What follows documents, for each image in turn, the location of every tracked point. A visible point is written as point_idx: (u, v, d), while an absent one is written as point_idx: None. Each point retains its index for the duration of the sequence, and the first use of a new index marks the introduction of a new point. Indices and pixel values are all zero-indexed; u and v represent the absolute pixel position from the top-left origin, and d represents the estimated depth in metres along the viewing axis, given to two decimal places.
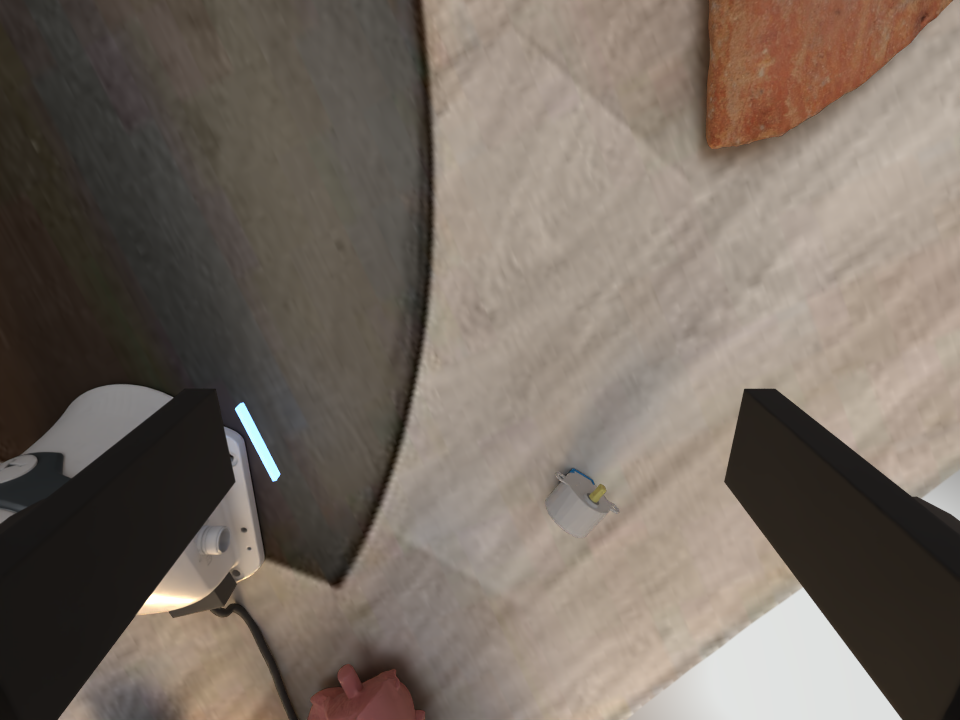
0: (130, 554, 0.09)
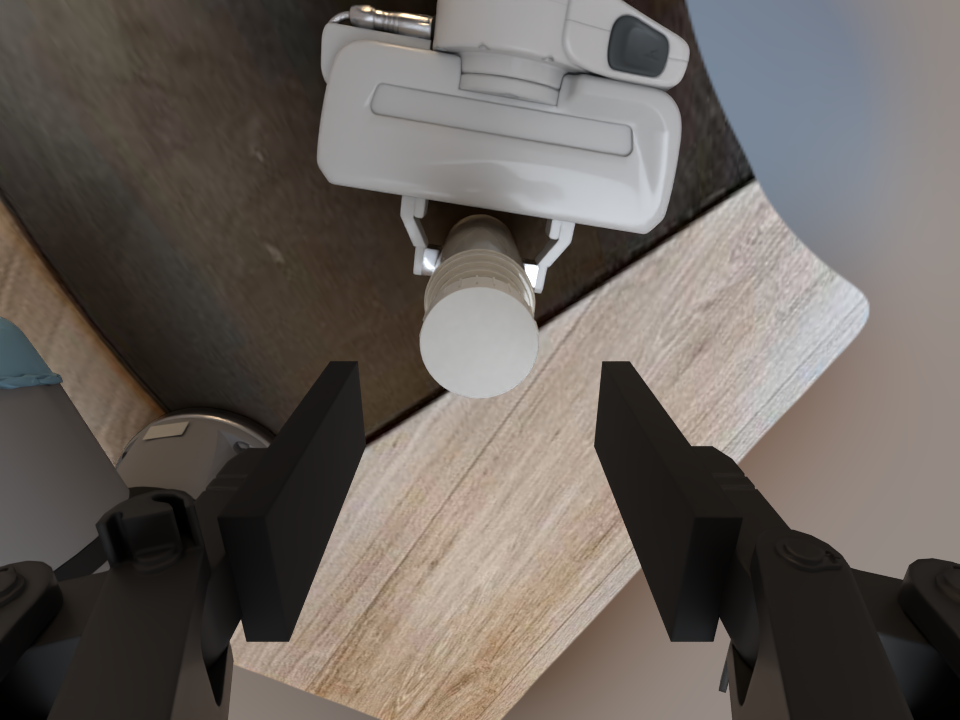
0: (323, 493, 0.11)
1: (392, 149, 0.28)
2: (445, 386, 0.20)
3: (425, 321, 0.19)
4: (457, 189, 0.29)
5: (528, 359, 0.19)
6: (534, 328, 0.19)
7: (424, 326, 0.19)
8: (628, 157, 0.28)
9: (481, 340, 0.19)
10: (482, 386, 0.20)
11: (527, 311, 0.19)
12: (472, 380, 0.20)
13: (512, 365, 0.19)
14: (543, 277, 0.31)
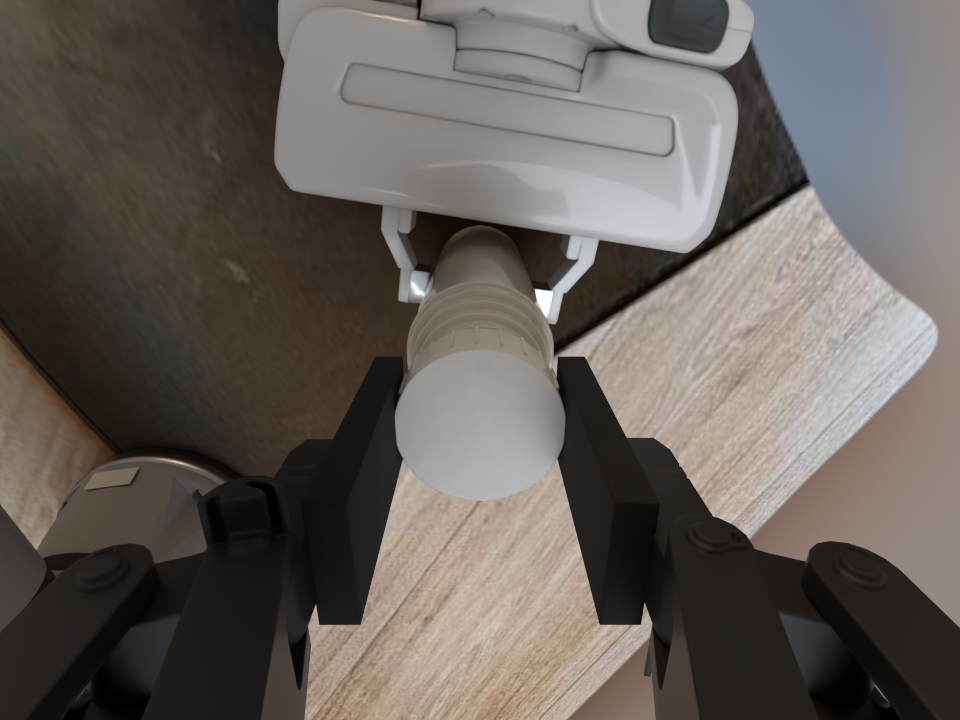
0: (382, 484, 0.11)
1: (369, 148, 0.22)
2: (431, 485, 0.14)
3: (401, 397, 0.13)
4: (452, 198, 0.23)
5: (550, 449, 0.13)
6: (560, 407, 0.13)
7: (400, 404, 0.13)
8: (668, 158, 0.22)
9: (483, 423, 0.13)
10: (484, 485, 0.14)
11: (550, 383, 0.13)
12: (470, 477, 0.14)
13: (527, 457, 0.13)
14: (558, 305, 0.25)
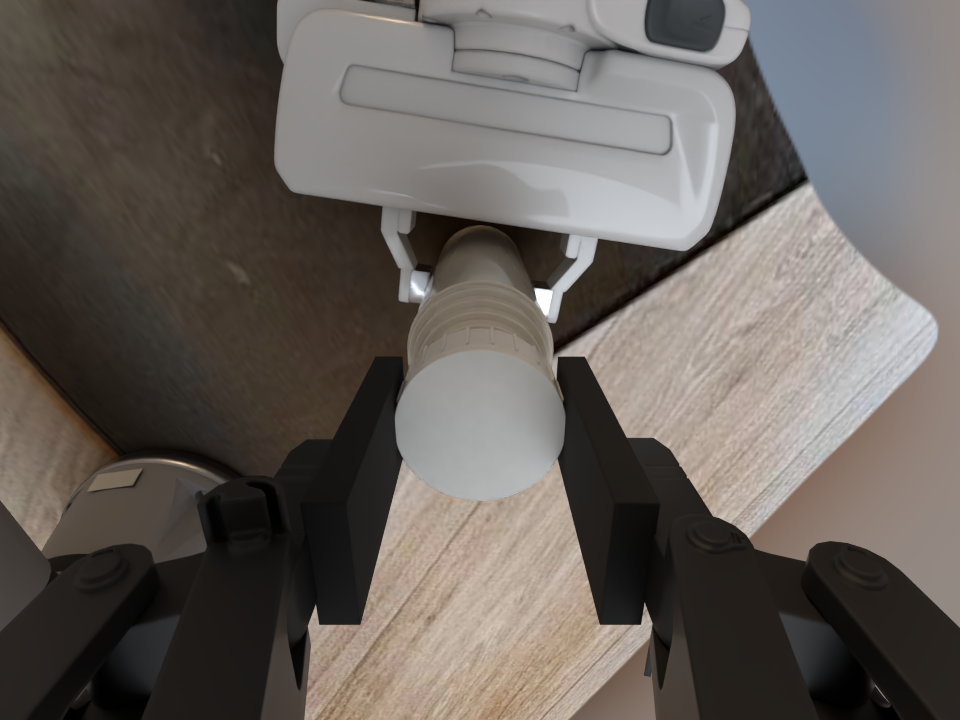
0: (381, 484, 0.11)
1: (368, 149, 0.22)
2: (541, 474, 0.14)
3: (443, 492, 0.14)
4: (451, 198, 0.23)
5: (506, 364, 0.12)
6: (455, 356, 0.12)
7: (451, 493, 0.14)
8: (666, 156, 0.22)
9: (472, 427, 0.13)
10: (546, 428, 0.13)
11: (429, 365, 0.13)
12: (535, 440, 0.13)
13: (514, 387, 0.13)
14: (558, 304, 0.26)
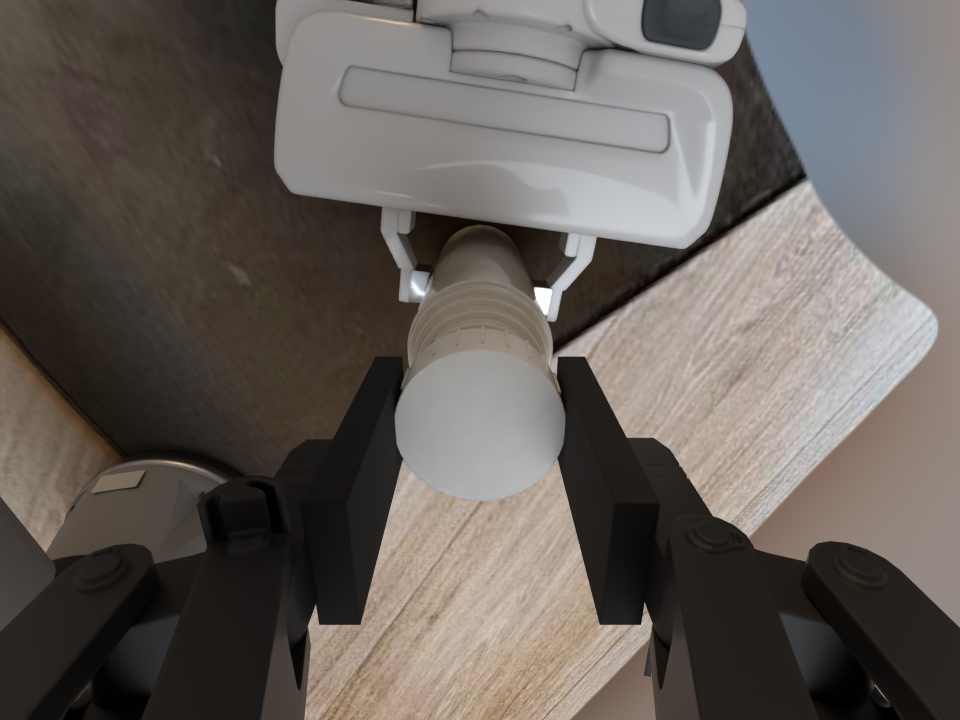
0: (381, 484, 0.11)
1: (367, 150, 0.22)
2: (537, 372, 0.13)
3: (551, 464, 0.14)
4: (450, 198, 0.23)
5: (408, 405, 0.13)
6: (400, 447, 0.13)
7: (554, 458, 0.14)
8: (664, 154, 0.22)
9: (476, 436, 0.13)
10: (479, 369, 0.13)
11: (411, 467, 0.14)
12: (494, 379, 0.13)
13: (432, 398, 0.13)
14: (557, 303, 0.26)
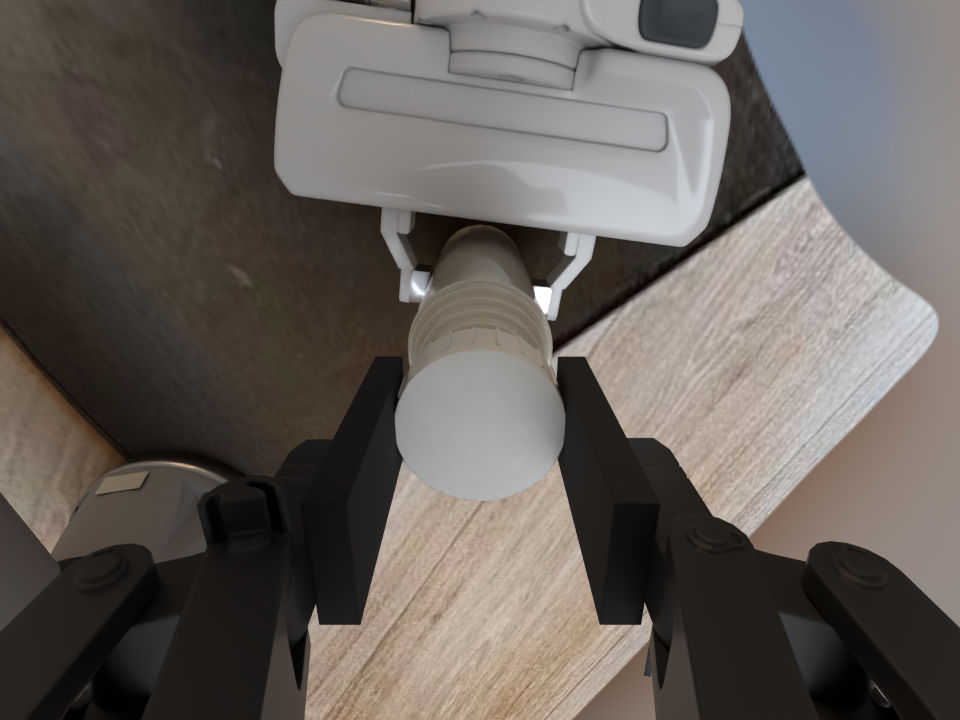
0: (381, 484, 0.11)
1: (367, 151, 0.22)
2: (417, 377, 0.13)
3: (526, 363, 0.12)
4: (449, 198, 0.23)
5: (452, 488, 0.14)
6: (496, 497, 0.14)
7: (518, 360, 0.12)
8: (663, 152, 0.22)
9: (487, 433, 0.13)
10: (413, 428, 0.13)
11: (520, 489, 0.14)
12: (424, 416, 0.13)
13: (444, 468, 0.14)
14: (557, 301, 0.26)
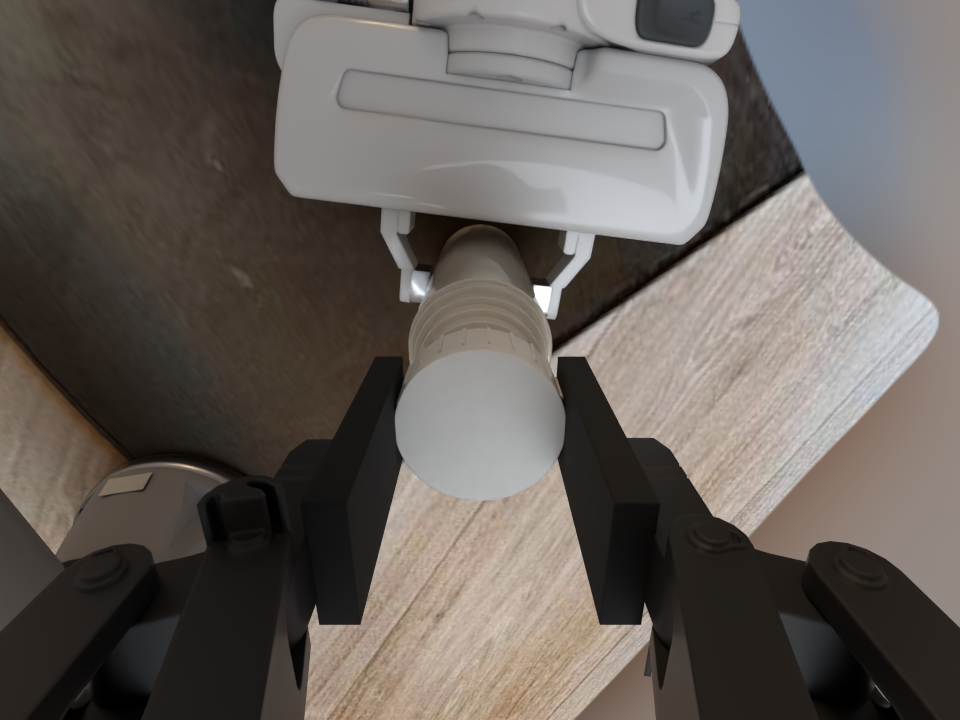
0: (381, 484, 0.11)
1: (366, 152, 0.22)
2: (423, 479, 0.14)
3: (406, 388, 0.13)
4: (449, 198, 0.23)
5: (546, 457, 0.13)
6: (562, 417, 0.13)
7: (404, 394, 0.13)
8: (661, 151, 0.22)
9: (484, 424, 0.13)
10: (476, 485, 0.14)
11: (556, 392, 0.13)
12: (463, 475, 0.14)
13: (523, 462, 0.14)
14: (557, 300, 0.26)
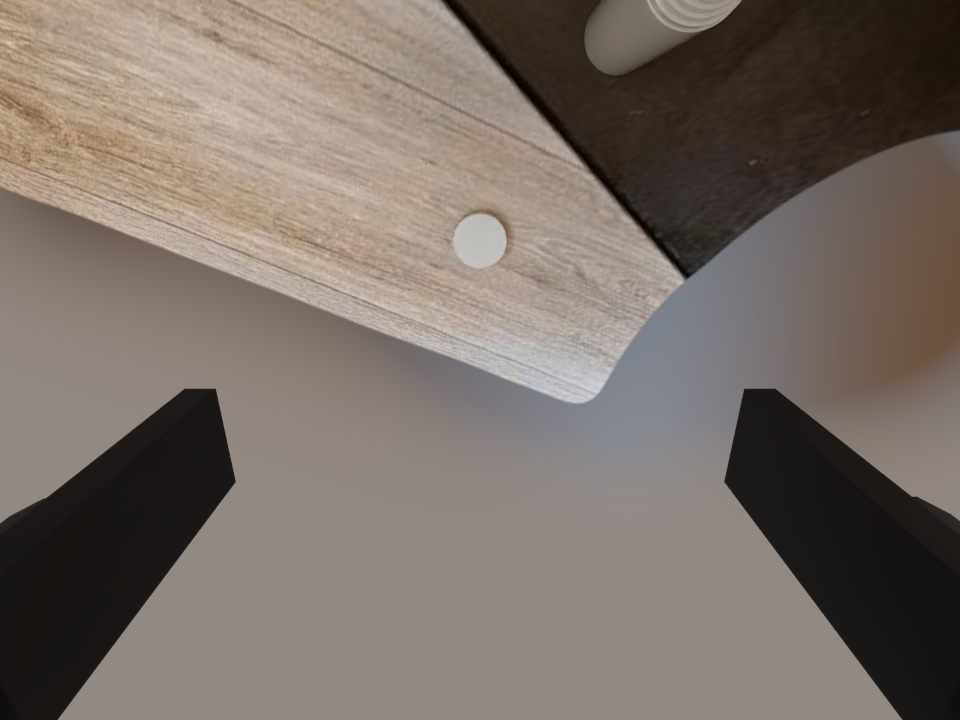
0: (130, 554, 0.09)
1: None
2: (497, 260, 0.43)
3: (464, 263, 0.43)
4: None
5: (490, 220, 0.42)
6: (476, 215, 0.41)
7: (467, 264, 0.43)
8: None
9: (477, 240, 0.42)
10: (500, 243, 0.42)
11: (467, 217, 0.42)
12: (496, 247, 0.42)
13: (492, 228, 0.42)
14: None
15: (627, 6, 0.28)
